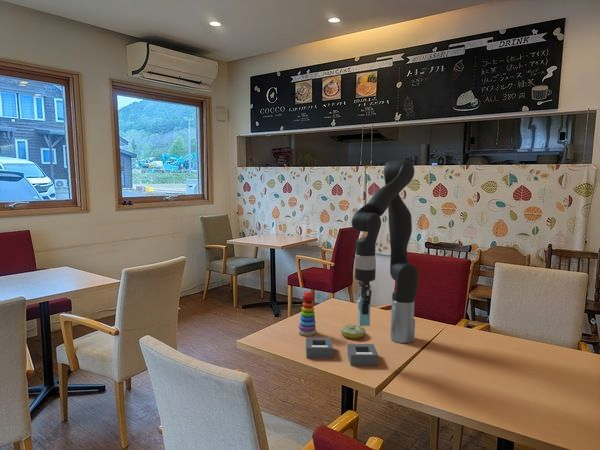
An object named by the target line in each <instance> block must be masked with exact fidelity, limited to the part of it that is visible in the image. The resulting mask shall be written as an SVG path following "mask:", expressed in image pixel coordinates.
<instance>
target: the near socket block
mask: <svg viewBox="0 0 600 450" xmlns="http://www.w3.org/2000/svg"><path fill="white" fill-rule="evenodd" d="M346 355H347V357H348V361H349V364H350V366H351V367H352V366H355V367H360V366H361V367H366V366H367V367H371V366H372V367H376V366H377V367H379V356H380V355H379V354H378V350H377V348H376V346H375V345H374V344H373V343H371V344H370V343H347V354H346Z"/></svg>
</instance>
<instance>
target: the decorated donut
mask: <svg viewBox="0 0 600 450" xmlns="http://www.w3.org/2000/svg"><path fill="white" fill-rule="evenodd" d="M340 332H341V335H342V336H343V337H344V338H346V339H349V340H359V339H363V338H364V336H365V335H366V332H367V331H366V329H365V328H364V326H360V325H359V324H358V325H357V324H347V325H344V326H342V327H341V329H340Z"/></svg>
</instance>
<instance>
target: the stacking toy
mask: <svg viewBox="0 0 600 450" xmlns="http://www.w3.org/2000/svg"><path fill="white" fill-rule="evenodd" d="M314 299H315V295H314V293H313V292H312V291H309V290H308V291H307V290H306V291H304V293H303V294H302V300H303V302H302V307H301V312H300V319H299V324H298V330H297V332H298V334H299V335H301V336H306V337H308V336H309V337H310V336H311V337H312V336H314V335H316V333H317V329H316V328H317V327H316V326H317V325H316V323H317V321H316V320H315V319H316V316H315V314H316V313H315V308H314V306H315V303H314V302H313V301H314Z"/></svg>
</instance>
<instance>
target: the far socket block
mask: <svg viewBox="0 0 600 450" xmlns="http://www.w3.org/2000/svg"><path fill="white" fill-rule="evenodd" d="M305 354H306V356H305V357H306V359H333V358H334V346H333V342H332V338H331V337H305Z"/></svg>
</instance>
